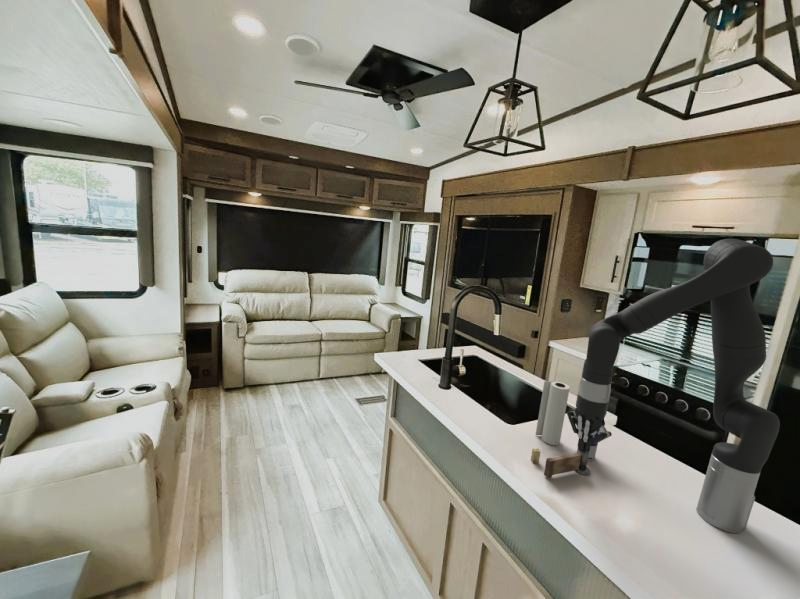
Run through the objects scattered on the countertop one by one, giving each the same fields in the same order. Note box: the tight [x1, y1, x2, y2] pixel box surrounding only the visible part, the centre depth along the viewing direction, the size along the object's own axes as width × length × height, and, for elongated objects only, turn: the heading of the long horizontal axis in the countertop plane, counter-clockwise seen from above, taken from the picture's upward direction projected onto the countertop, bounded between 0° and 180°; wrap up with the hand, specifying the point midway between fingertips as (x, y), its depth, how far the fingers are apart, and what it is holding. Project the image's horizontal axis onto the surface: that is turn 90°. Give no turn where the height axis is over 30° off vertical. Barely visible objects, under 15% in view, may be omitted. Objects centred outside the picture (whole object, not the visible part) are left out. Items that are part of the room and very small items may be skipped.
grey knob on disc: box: [574, 451, 591, 477], centre depth 108 cm, size 5×5×7 cm
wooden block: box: [543, 452, 581, 479], centre depth 105 cm, size 12×2×6 cm, turn 110°
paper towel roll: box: [535, 380, 571, 446], centre depth 122 cm, size 7×6×21 cm
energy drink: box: [576, 429, 600, 462], centre depth 115 cm, size 5×5×12 cm
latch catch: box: [530, 448, 541, 464], centre depth 111 cm, size 2×1×4 cm
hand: (583, 451), depth 98 cm, fingers closed
